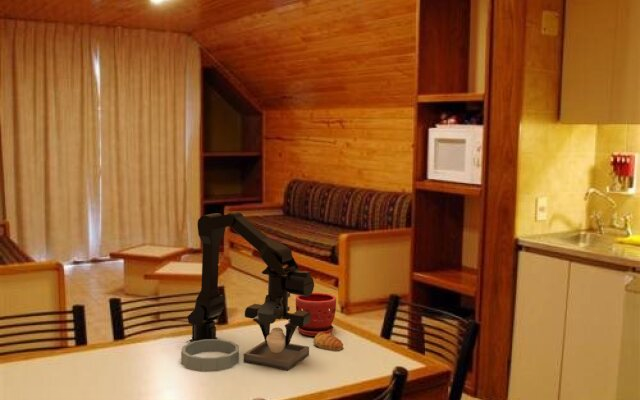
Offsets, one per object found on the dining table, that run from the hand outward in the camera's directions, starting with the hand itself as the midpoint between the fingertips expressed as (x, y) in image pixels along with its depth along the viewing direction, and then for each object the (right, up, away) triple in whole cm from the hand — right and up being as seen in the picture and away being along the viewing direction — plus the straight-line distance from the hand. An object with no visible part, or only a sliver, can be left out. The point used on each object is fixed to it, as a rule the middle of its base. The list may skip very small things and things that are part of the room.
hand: (276, 343), depth 190 cm
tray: (0, -4, 0) cm, 4 cm away
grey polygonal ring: (-19, -4, -2) cm, 19 cm away
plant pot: (+11, -2, +25) cm, 27 cm away
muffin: (0, -2, 0) cm, 2 cm away
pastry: (+15, -4, +12) cm, 20 cm away
